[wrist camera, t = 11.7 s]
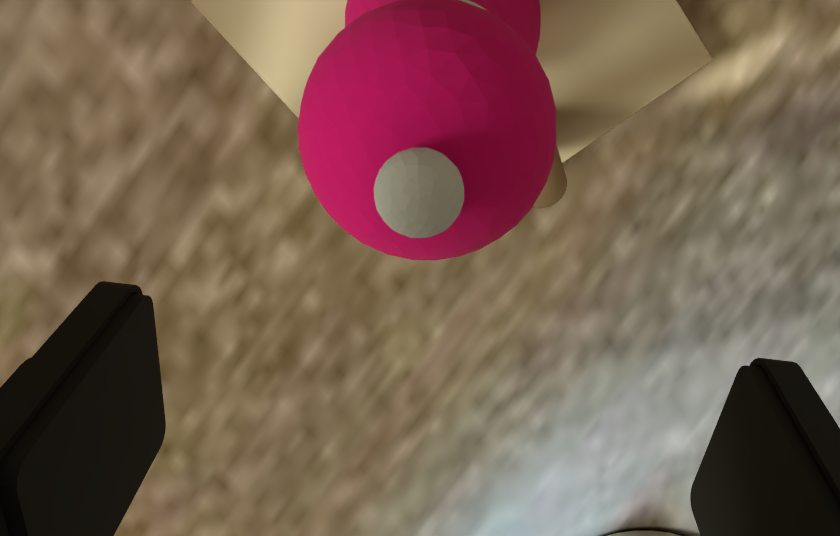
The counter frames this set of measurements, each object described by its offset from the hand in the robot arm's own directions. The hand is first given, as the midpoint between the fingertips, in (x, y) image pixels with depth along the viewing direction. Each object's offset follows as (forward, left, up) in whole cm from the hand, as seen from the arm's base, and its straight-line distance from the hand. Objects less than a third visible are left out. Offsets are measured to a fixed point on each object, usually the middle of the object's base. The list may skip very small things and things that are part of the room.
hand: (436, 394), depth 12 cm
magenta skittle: (+2, -1, -23) cm, 23 cm away
